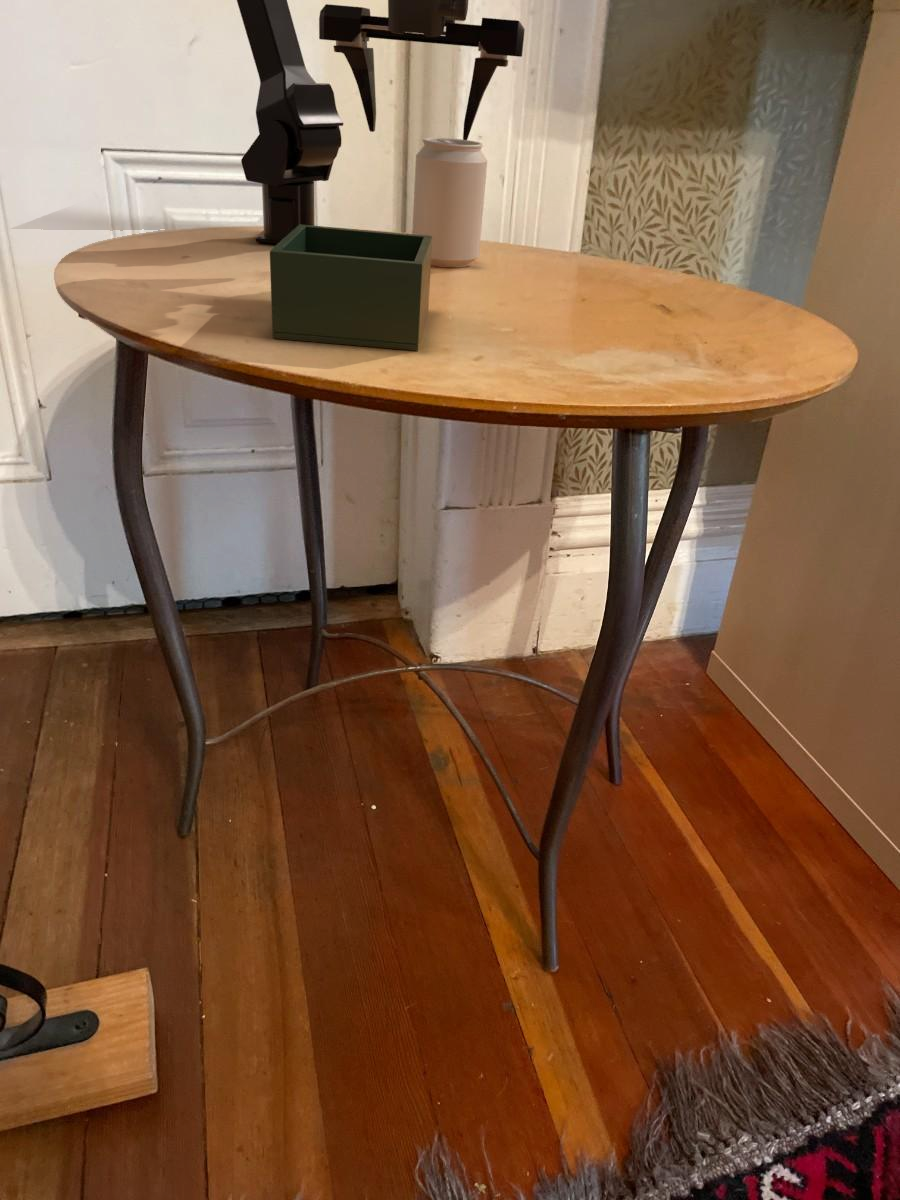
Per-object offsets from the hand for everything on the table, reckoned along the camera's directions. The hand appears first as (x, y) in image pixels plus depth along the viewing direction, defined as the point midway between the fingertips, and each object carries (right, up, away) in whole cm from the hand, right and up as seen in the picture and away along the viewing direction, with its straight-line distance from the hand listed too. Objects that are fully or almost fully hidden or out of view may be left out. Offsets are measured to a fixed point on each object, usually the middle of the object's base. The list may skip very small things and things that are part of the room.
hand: (418, 135), depth 87 cm
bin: (-5, -23, -13) cm, 27 cm away
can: (+3, -9, +11) cm, 14 cm away
